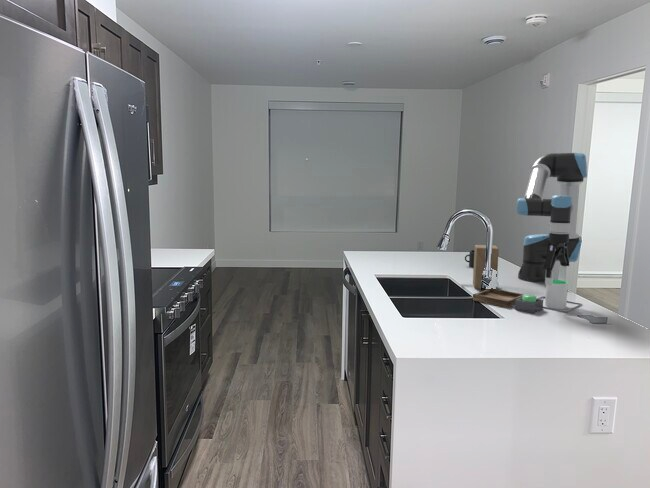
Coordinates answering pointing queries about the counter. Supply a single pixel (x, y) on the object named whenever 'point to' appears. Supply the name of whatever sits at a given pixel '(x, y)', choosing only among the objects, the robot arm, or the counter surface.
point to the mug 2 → (556, 294)
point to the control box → (529, 305)
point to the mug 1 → (470, 258)
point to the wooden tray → (497, 297)
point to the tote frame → (562, 310)
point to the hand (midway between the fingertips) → (555, 283)
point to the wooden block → (483, 263)
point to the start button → (529, 298)
